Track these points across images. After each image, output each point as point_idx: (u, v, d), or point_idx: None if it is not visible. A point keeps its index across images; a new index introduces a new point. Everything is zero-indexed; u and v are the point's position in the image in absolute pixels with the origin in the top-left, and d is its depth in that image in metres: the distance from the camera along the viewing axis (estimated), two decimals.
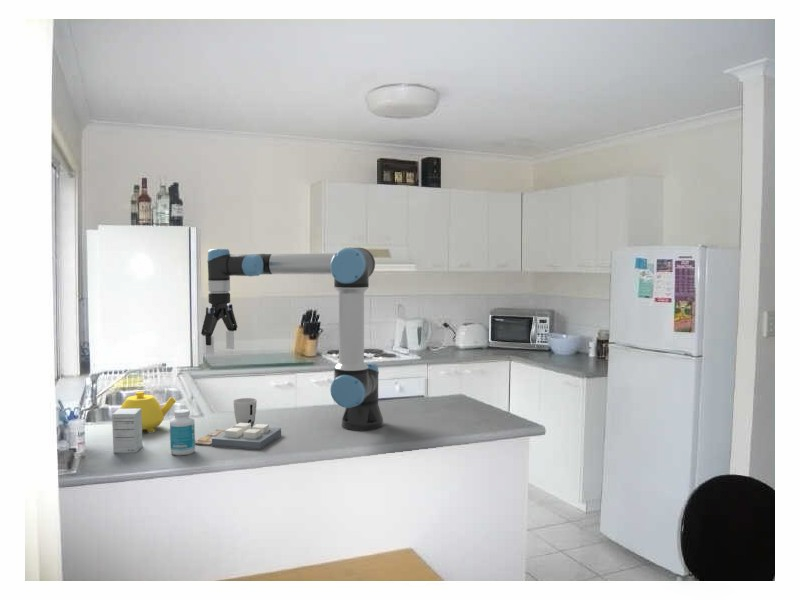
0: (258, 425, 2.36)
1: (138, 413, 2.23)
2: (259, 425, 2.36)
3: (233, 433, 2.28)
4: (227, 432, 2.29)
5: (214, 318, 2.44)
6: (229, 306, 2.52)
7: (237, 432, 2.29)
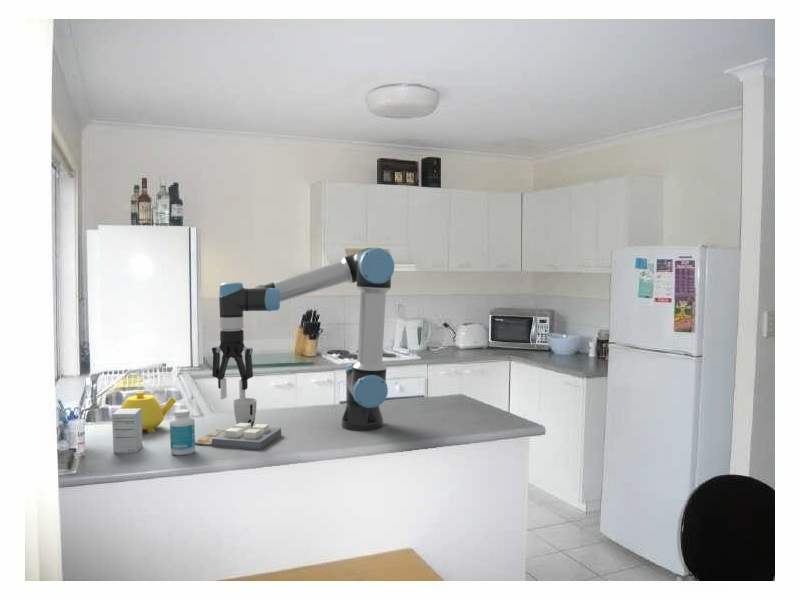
0: (258, 425, 2.36)
1: (138, 413, 2.23)
2: (259, 425, 2.36)
3: (233, 433, 2.28)
4: (227, 432, 2.29)
5: None
6: (246, 350, 2.26)
7: (237, 432, 2.29)
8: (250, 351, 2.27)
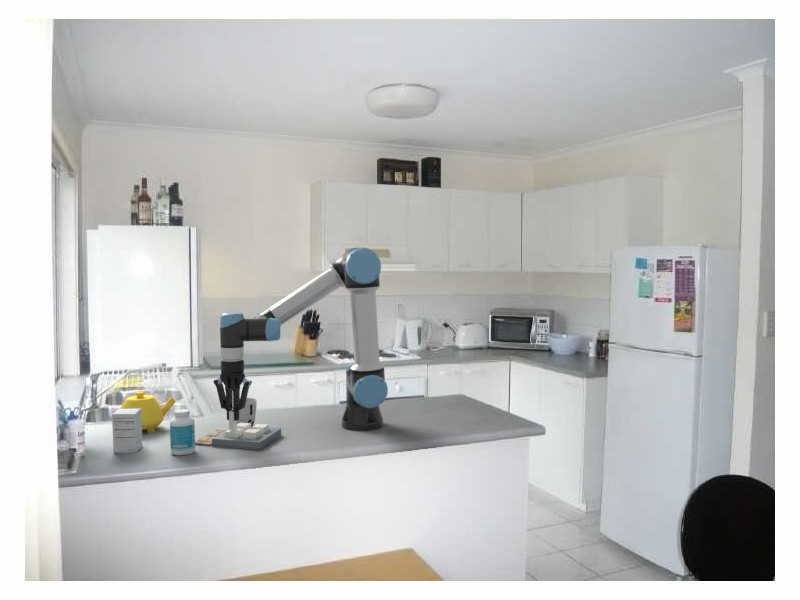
0: (258, 425, 2.36)
1: (138, 413, 2.23)
2: (259, 425, 2.36)
3: (233, 434, 2.28)
4: (227, 433, 2.29)
5: None
6: (245, 382, 2.27)
7: (237, 433, 2.29)
8: (249, 384, 2.28)
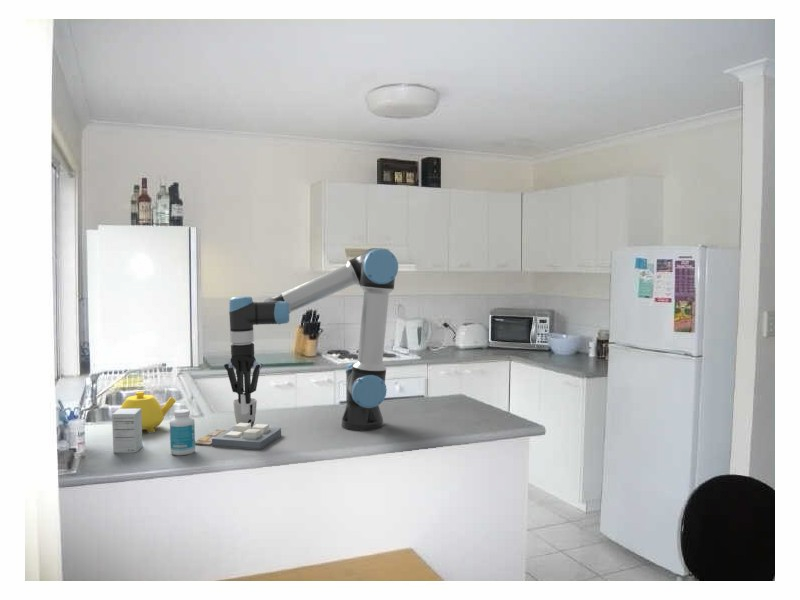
0: (258, 425, 2.36)
1: (138, 413, 2.23)
2: (259, 425, 2.36)
3: (233, 437, 2.28)
4: (227, 436, 2.29)
5: None
6: (256, 365, 2.29)
7: (237, 436, 2.29)
8: (260, 367, 2.29)
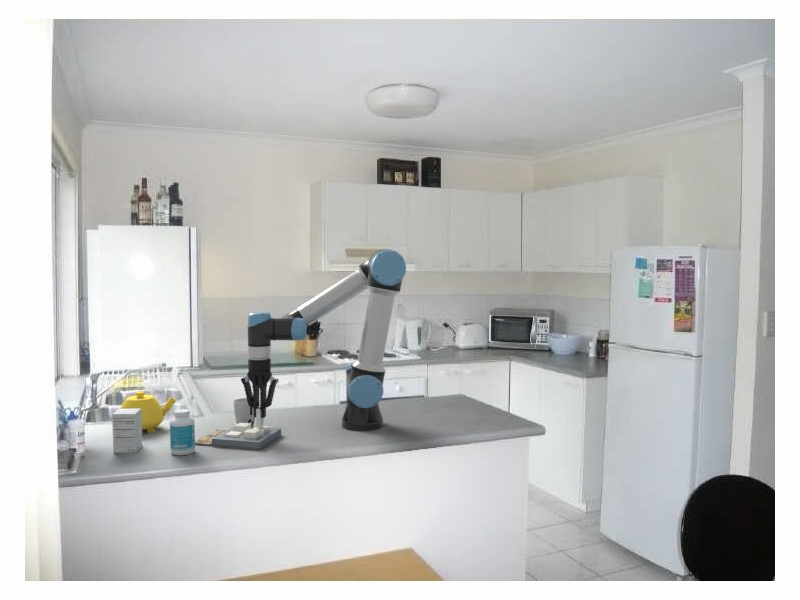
0: None
1: (138, 413, 2.23)
2: None
3: (233, 437, 2.28)
4: (227, 436, 2.29)
5: None
6: (272, 380, 2.32)
7: (237, 436, 2.29)
8: (276, 382, 2.33)
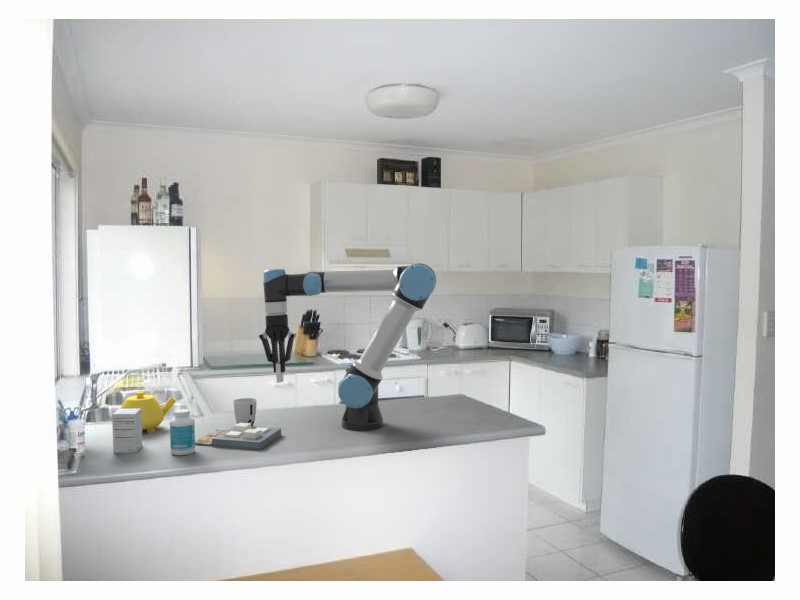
0: None
1: (138, 413, 2.23)
2: None
3: (233, 437, 2.28)
4: (227, 436, 2.29)
5: None
6: (290, 334, 2.38)
7: (237, 436, 2.29)
8: (294, 336, 2.38)
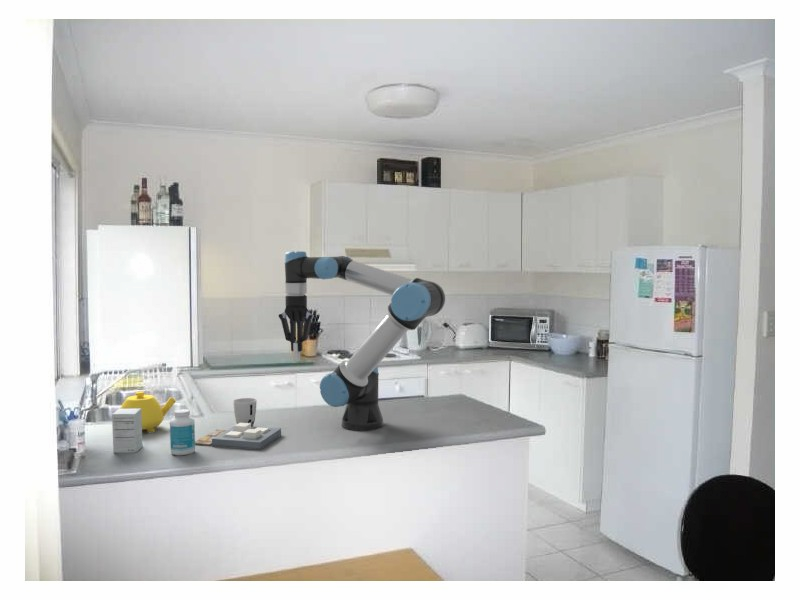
0: None
1: (138, 413, 2.23)
2: None
3: (233, 437, 2.28)
4: (227, 436, 2.29)
5: None
6: (309, 315, 2.45)
7: (237, 436, 2.29)
8: (312, 317, 2.46)
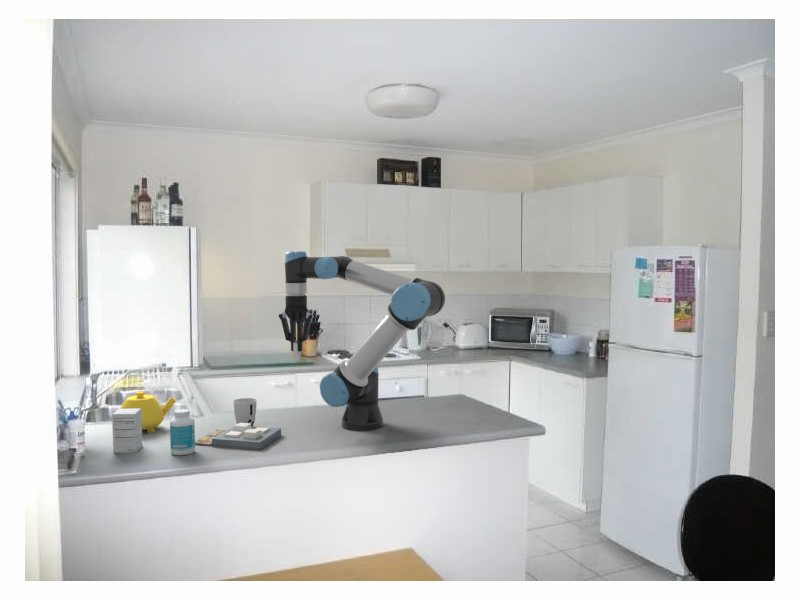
0: None
1: (138, 413, 2.22)
2: None
3: (233, 437, 2.28)
4: (227, 436, 2.29)
5: None
6: (309, 315, 2.45)
7: (237, 436, 2.29)
8: (312, 317, 2.46)
